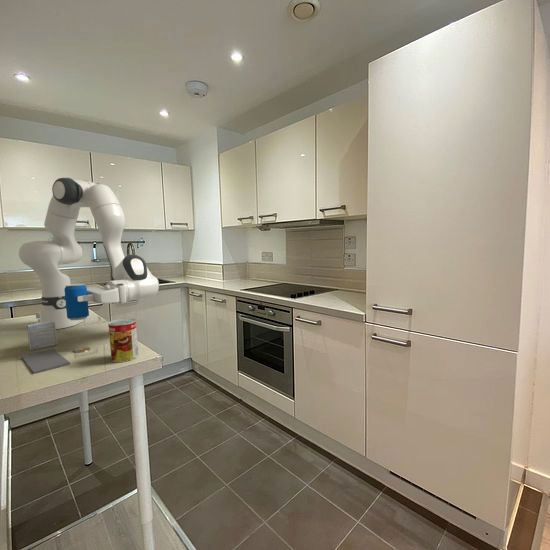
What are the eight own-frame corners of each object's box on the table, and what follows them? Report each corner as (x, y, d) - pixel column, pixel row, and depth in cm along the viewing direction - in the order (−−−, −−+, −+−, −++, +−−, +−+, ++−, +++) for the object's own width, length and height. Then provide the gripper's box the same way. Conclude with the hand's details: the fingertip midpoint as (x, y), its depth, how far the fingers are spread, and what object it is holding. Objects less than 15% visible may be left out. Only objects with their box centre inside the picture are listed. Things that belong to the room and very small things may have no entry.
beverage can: (74, 316, 111) (70, 283, 109) (92, 316, 111) (89, 282, 110) (63, 321, 104) (59, 286, 103) (83, 320, 105) (79, 285, 104)
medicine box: (55, 342, 118) (52, 320, 117) (57, 345, 115) (55, 322, 114) (29, 348, 113) (26, 324, 112) (30, 350, 110) (28, 327, 109)
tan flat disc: (70, 350, 109) (70, 350, 109) (87, 346, 113) (87, 346, 113) (75, 353, 105) (75, 353, 105) (92, 349, 109) (92, 349, 109)
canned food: (113, 355, 103) (110, 320, 102) (139, 351, 106) (136, 317, 104) (109, 364, 96) (106, 326, 94) (137, 360, 98) (134, 323, 97)
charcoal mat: (21, 357, 103) (21, 355, 103) (53, 350, 110) (53, 348, 110) (33, 373, 90) (33, 371, 90) (69, 364, 96) (69, 362, 96)
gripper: (105, 281, 123) (64, 286, 113) (126, 285, 109) (81, 291, 99) (106, 297, 124) (66, 303, 114) (127, 303, 110) (83, 310, 100)
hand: (73, 297), depth 106 cm, fingers closed on beverage can, 6 cm apart
